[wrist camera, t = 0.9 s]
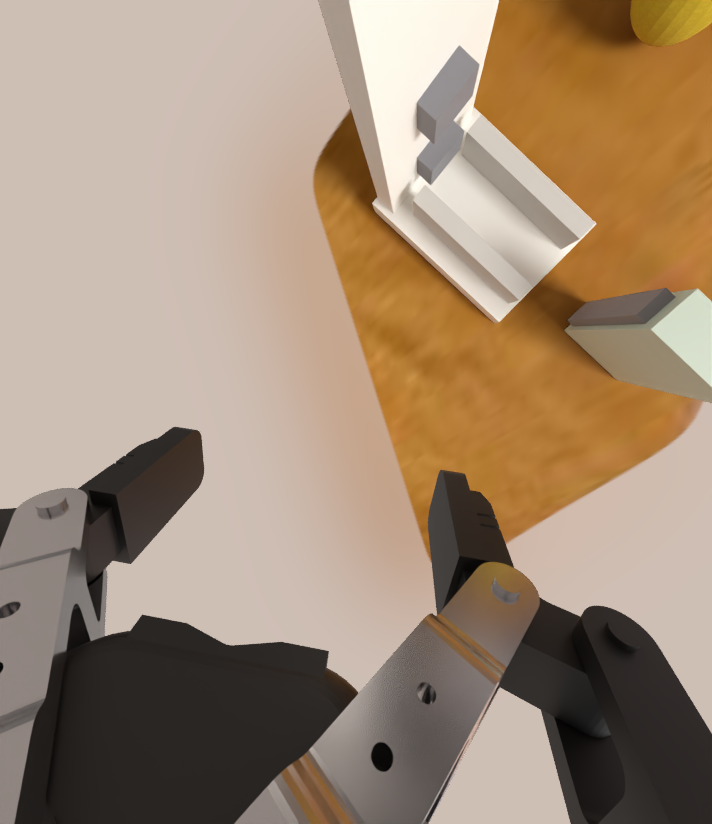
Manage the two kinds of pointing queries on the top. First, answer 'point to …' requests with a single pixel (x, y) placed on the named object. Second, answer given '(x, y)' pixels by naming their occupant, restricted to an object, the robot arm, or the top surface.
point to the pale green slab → (651, 339)
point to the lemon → (669, 20)
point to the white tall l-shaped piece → (447, 148)
